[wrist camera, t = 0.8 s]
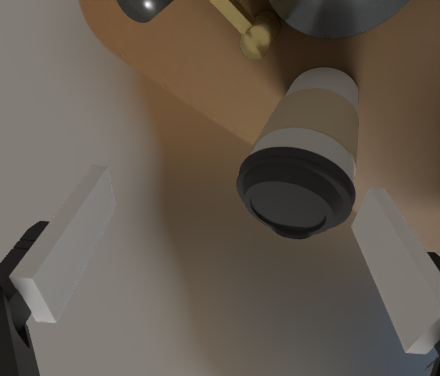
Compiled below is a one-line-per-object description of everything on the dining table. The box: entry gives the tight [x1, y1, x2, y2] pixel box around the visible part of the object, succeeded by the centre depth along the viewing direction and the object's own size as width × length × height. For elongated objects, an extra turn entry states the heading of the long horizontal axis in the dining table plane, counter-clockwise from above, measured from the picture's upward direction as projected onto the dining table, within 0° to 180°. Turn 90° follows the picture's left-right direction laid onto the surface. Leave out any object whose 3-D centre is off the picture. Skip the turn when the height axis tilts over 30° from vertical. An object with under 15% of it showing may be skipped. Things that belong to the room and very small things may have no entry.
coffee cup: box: [236, 67, 359, 239], centre depth 26 cm, size 9×9×15 cm
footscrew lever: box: [117, 0, 280, 59], centre depth 22 cm, size 11×3×10 cm, turn 53°
